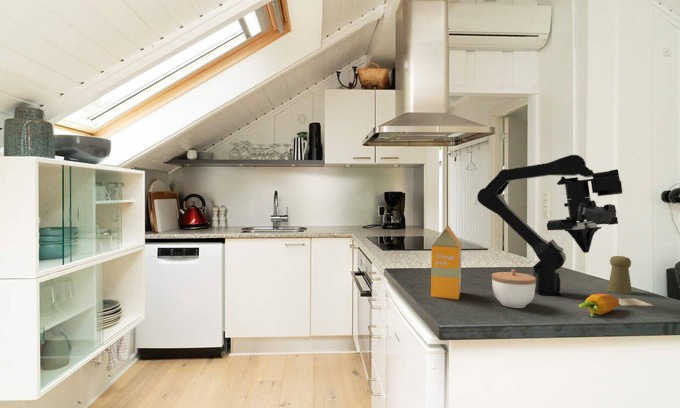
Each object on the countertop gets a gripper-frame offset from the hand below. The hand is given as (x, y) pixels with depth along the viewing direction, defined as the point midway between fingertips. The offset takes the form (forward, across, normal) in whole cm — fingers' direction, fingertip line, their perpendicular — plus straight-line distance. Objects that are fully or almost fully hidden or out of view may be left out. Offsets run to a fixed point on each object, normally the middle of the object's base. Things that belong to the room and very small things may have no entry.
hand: (586, 252), depth 105 cm
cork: (+14, +16, +6) cm, 22 cm away
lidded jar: (+11, -26, -2) cm, 28 cm away
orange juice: (+9, -39, +10) cm, 41 cm away
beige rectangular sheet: (+14, +7, -4) cm, 17 cm away
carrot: (+12, 0, -8) cm, 15 cm away
